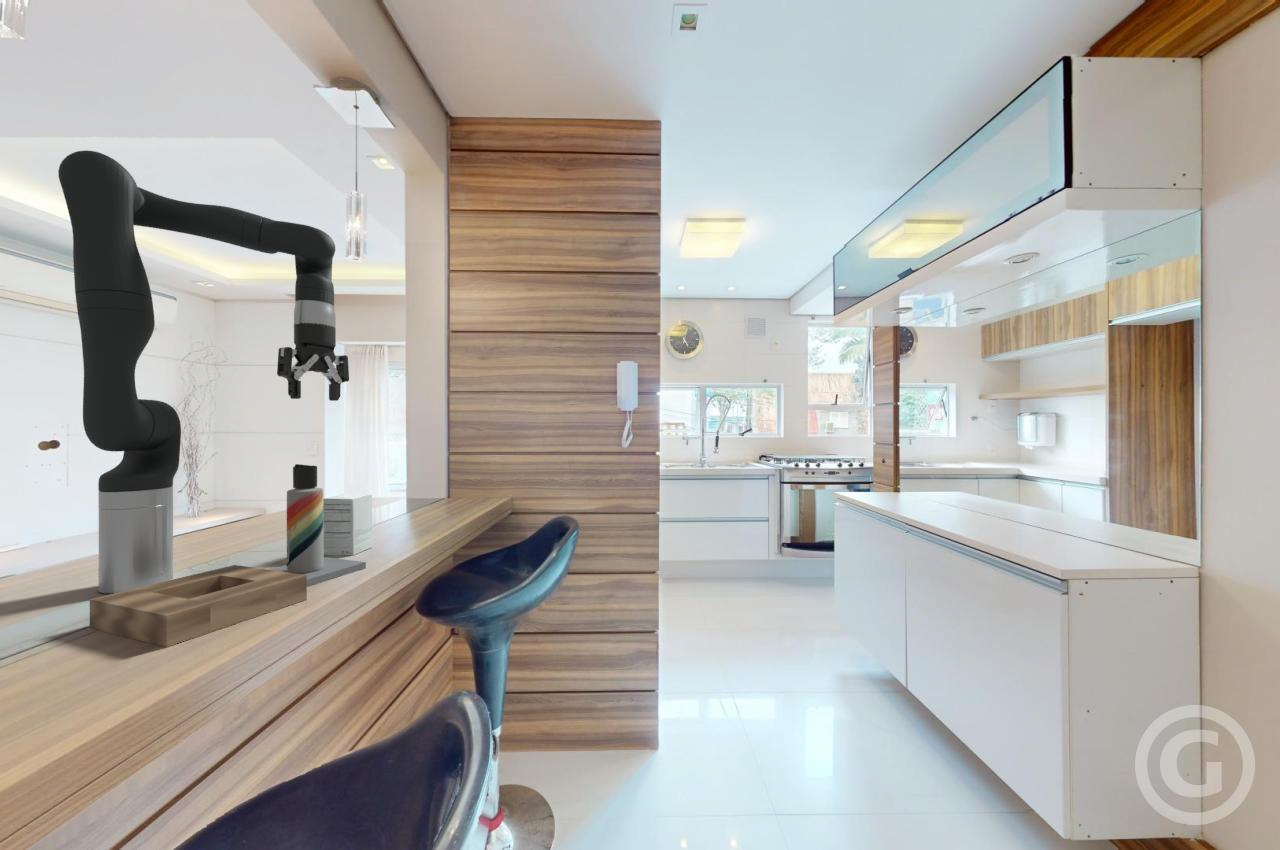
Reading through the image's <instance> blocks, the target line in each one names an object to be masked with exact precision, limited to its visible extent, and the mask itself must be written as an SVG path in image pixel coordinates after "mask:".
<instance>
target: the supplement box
mask: <svg viewBox="0 0 1280 850" xmlns="http://www.w3.org/2000/svg"><path fill="white" fill-rule="evenodd" d="M323 540H324V556H341V555H351V556H356V554H359V553H361V552H364V551H367V550H370V549H371V548H373V494H372V493H341V494H337V495H332V496H328V497H323Z"/></svg>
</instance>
